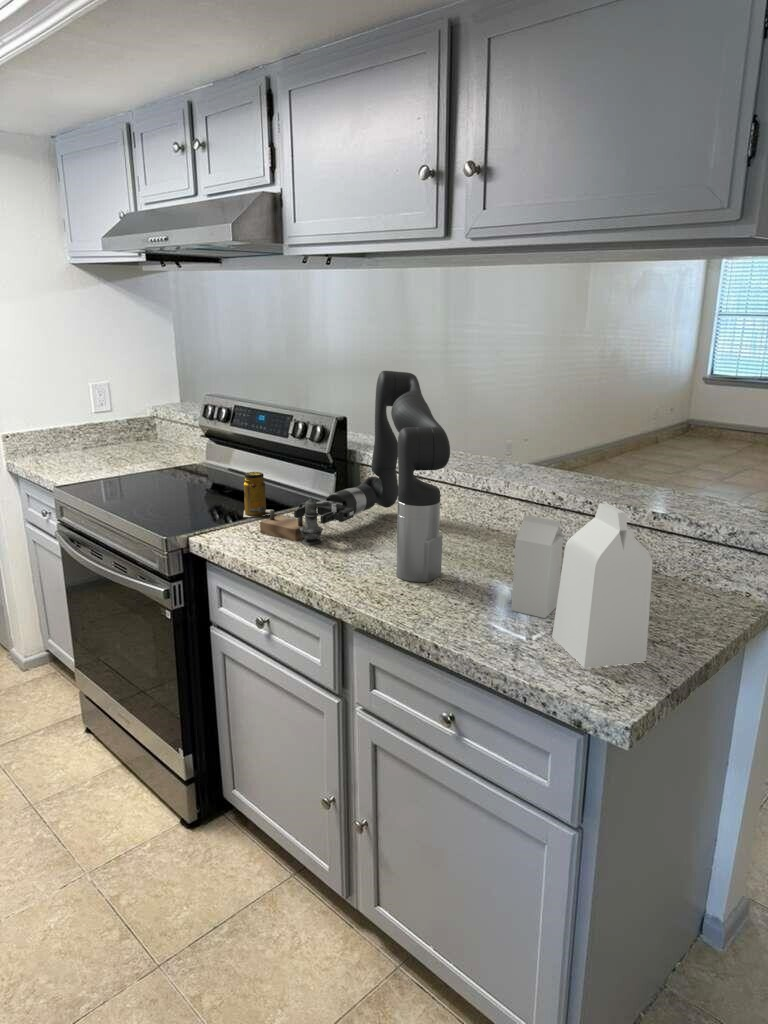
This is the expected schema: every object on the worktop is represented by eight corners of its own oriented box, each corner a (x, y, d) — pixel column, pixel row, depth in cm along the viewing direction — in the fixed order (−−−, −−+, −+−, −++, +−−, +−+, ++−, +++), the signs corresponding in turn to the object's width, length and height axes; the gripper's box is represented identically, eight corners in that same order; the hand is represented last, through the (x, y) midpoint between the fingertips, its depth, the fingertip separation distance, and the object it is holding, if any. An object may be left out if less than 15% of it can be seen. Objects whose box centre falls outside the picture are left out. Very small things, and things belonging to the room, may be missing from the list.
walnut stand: (312, 534, 189) (312, 514, 188) (295, 540, 184) (295, 520, 182) (277, 526, 196) (277, 507, 194) (260, 532, 190) (259, 512, 188)
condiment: (243, 511, 210) (242, 470, 207) (273, 510, 212) (272, 470, 209) (243, 517, 204) (241, 476, 200) (273, 517, 205) (272, 475, 202)
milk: (551, 638, 131) (563, 500, 124) (609, 633, 133) (623, 497, 126) (584, 669, 119) (599, 519, 112) (645, 663, 122) (664, 516, 115)
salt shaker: (312, 547, 179) (311, 500, 176) (295, 542, 182) (294, 496, 179) (327, 541, 183) (327, 496, 180) (310, 537, 187) (310, 492, 184)
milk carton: (545, 619, 139) (553, 525, 134) (510, 611, 142) (517, 519, 137) (557, 607, 145) (565, 516, 140) (524, 599, 148) (530, 510, 143)
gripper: (325, 486, 196) (286, 498, 183) (368, 493, 188) (330, 506, 175) (325, 512, 198) (286, 526, 185) (368, 521, 190) (331, 536, 177)
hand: (308, 516), depth 180 cm, fingers open, 8 cm apart
